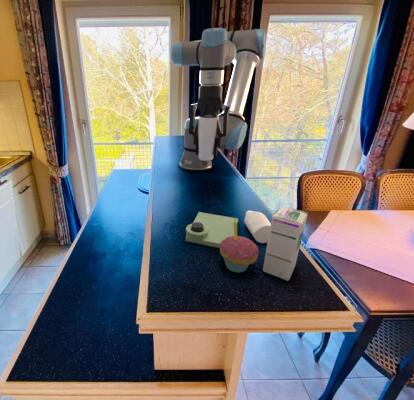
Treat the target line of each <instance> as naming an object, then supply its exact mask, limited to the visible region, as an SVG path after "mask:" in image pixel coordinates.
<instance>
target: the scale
mask: <svg viewBox="0 0 414 400" xmlns="http://www.w3.org/2000/svg"><path fill="white" fill-rule="evenodd" d="M234 218H235V219H234ZM235 220H236V221H237V224H238V223H239V218H237V217H231V216H224V215H219V214H212V213H207V212H201V211H198V213H197V214H196V216H195V219H194V220H193V222H192V223H190V224H187V226H186V228H185V234H186V235H185V238H184V239H185V240H184V241H185V242H188V243H193V244H198V245H203V246H207V247H213V248H217V249H220V247H219V245H220V243H221V242H222V240H224V239H225V238H227V237H231V236H234V221H235ZM195 222H199V223H202V224H203V231H202V232H193V231H192V224H193V223H195Z"/></svg>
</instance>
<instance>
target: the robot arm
mask: <svg viewBox="0 0 414 400" xmlns="http://www.w3.org/2000/svg"><path fill="white" fill-rule="evenodd" d="M266 46H267V34H266V30H265V29H262V28H254V29H242V30H231V31H228V30H227V29H226V28H224V27H223V28H222V27H214V28H212V27H211V28H206V29H204V30H203V31H202V34H201V39H199V40H191V41H180V42H174V44H173V45H172V46H171V49H170V59H171V62H172V64H173V65H174V66H175V67H195V66H199V85H200V86H198V99H197V102H196V103H192V104H190V105H189V106H188V108H189V112H190V113H189V118H186V120H185V121H184V128H183V129H184V130H183V131H184V134H183V137H184V138H183V152H182V155H181V158H180V161H179V168H180V169H183V170H184V171H188V172H196V173H197V172H199V173H200V172H206V171H209V170H211V169H212V167H213V166H212V165H213V163H212V160H210V161H203V160H200V159H199V157H198V156H199V143H198V122H199V117H202V118H204V117H205V115H211V116H213V118H217V117H219V118H218V119H217V129H216V132H217V137H216V138H215V146H214V155H213V158H216V157H217V156H218V152H219V151H218V150H219V149H223V150H224V149H225V150H238V149H240V148H241V147H242V145H243V144H244V141H245V139H246V135H247V130H248V123H246V122H245V121H246V119H245V117H244V116H243V114H244V111H245V107H246V103H247V99H248V96H249V95H248V94H249V90H250V86H251V82H252V78H253V74H254V70H255V68H256V67H257V66H259V64H260V60H261V61H262V60H264V59H265V57H266ZM230 64H233V65H234V66H233V70H232V74H231V78H230V81H229V85H228V90H227V93H226V98H225V100H224V103H223V88H224V87H223V86H222V85H223V84H224V75H225V66H228V65H230ZM197 109H199V111H200V113H199V115H198V116H196V111H197ZM221 109H222V112H220V113H219V111H220V110H221Z"/></svg>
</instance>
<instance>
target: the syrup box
mask: <svg viewBox="0 0 414 400" xmlns="http://www.w3.org/2000/svg"><path fill="white" fill-rule="evenodd" d="M307 219H308V212H306V211H303V210H300V209H297V208H292V207H287V206H286V207H285V206H281V205H280V206H279V207H278V209H277V210H276V211H275V212H274V213H273V215H272V216H271V222H270V223H271V226H270V232H269V237H268V242H267V243H266V249H265V255H264V259H263V265H262V272H264V273H266V274H268V275H271V276H274V277H277V278H279V279H282V280H285V281H287V282H289V280H290V279H291V277H292V274H293V273H294V271H295V267H296V265H297V260H298V256H299V252H300V248H301V244H302V239H303V235H304V231H305V227H306V223H307Z"/></svg>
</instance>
